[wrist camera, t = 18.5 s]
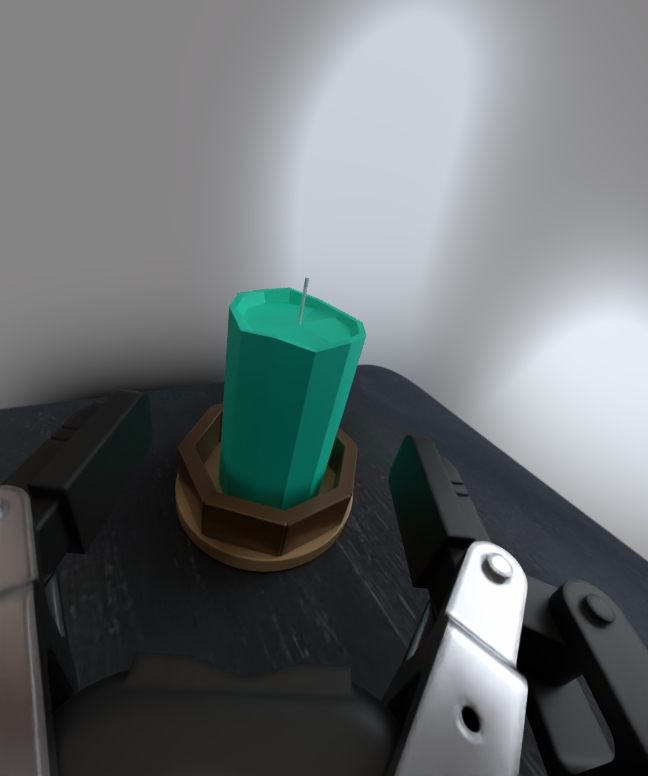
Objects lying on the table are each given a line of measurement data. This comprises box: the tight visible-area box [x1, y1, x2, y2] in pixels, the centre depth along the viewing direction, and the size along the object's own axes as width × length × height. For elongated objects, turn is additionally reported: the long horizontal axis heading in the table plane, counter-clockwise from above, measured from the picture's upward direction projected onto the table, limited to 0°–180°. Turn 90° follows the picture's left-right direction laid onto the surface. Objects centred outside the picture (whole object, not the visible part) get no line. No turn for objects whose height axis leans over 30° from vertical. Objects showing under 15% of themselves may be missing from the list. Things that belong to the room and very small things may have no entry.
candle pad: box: [175, 404, 358, 572], centre depth 20 cm, size 10×10×4 cm
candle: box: [219, 278, 366, 511], centre depth 17 cm, size 6×6×12 cm
